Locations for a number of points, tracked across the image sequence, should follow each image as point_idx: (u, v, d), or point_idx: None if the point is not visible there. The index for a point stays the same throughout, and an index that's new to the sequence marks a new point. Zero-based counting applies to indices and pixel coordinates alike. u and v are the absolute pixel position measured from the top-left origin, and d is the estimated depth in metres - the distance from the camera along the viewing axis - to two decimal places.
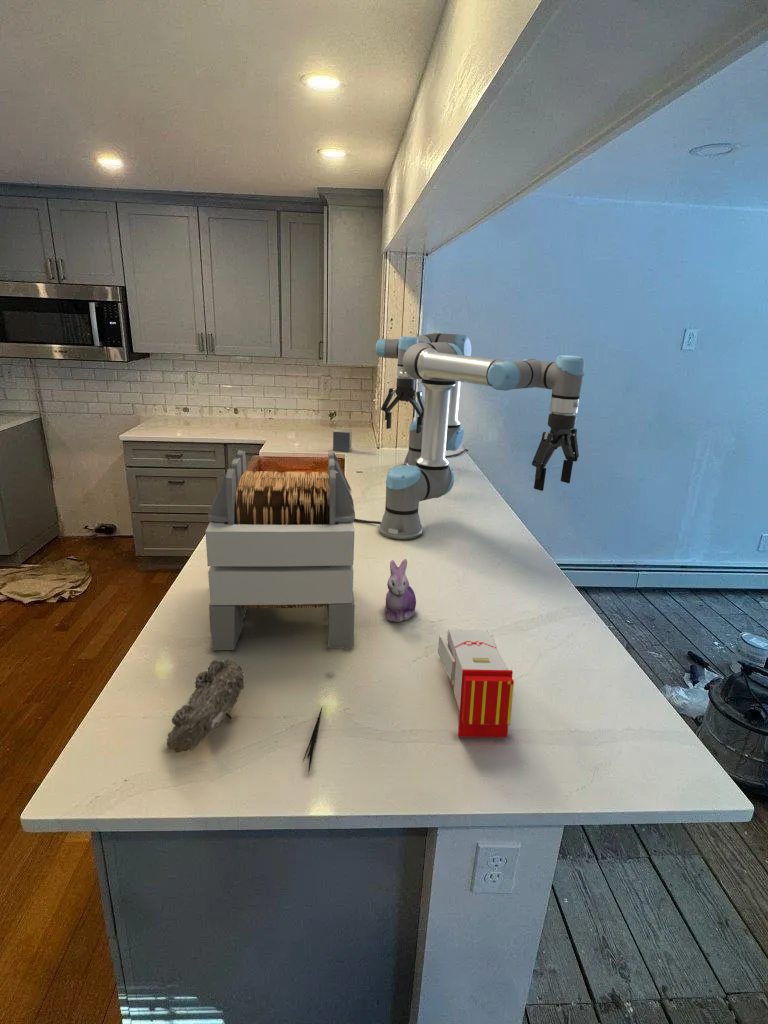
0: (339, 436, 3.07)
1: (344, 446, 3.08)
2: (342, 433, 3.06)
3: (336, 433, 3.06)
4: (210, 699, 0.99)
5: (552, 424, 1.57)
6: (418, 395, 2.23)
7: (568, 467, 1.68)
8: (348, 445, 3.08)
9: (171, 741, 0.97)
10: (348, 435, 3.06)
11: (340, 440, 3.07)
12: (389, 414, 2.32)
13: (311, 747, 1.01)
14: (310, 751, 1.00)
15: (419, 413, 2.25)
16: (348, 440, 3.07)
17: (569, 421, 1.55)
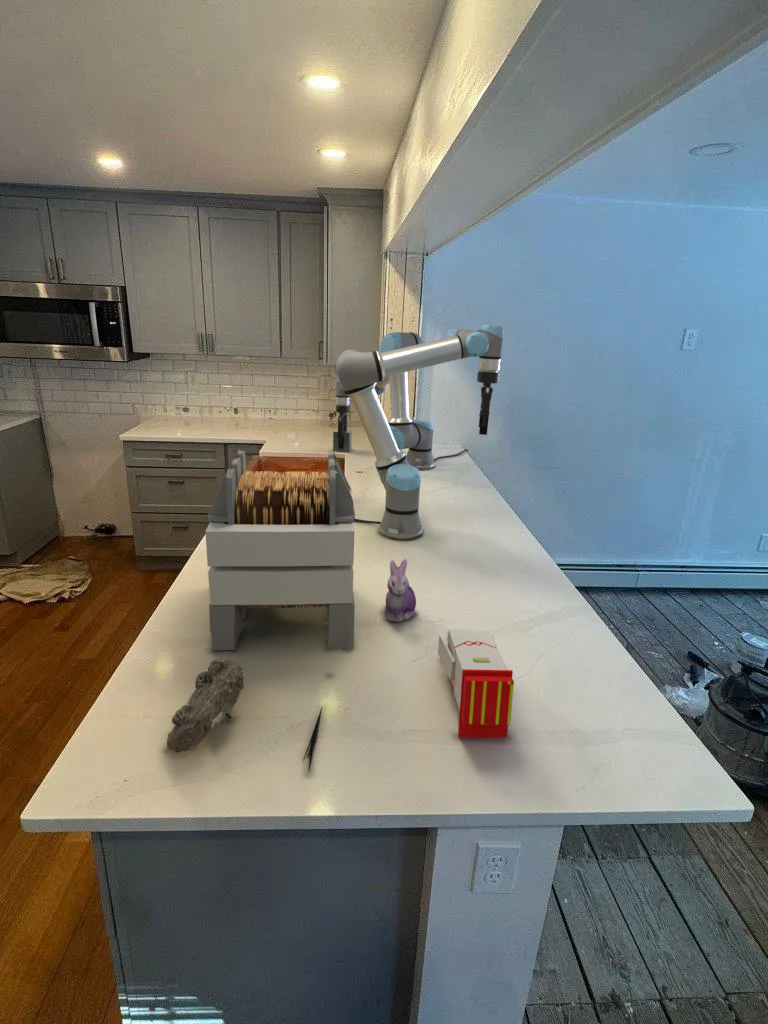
0: None
1: (344, 446, 3.08)
2: None
3: (336, 433, 3.06)
4: (210, 699, 0.99)
5: (486, 380, 1.97)
6: None
7: None
8: (348, 445, 3.08)
9: (171, 741, 0.97)
10: (348, 435, 3.06)
11: None
12: None
13: (311, 747, 1.01)
14: (310, 751, 1.00)
15: None
16: (348, 440, 3.07)
17: (498, 376, 1.98)
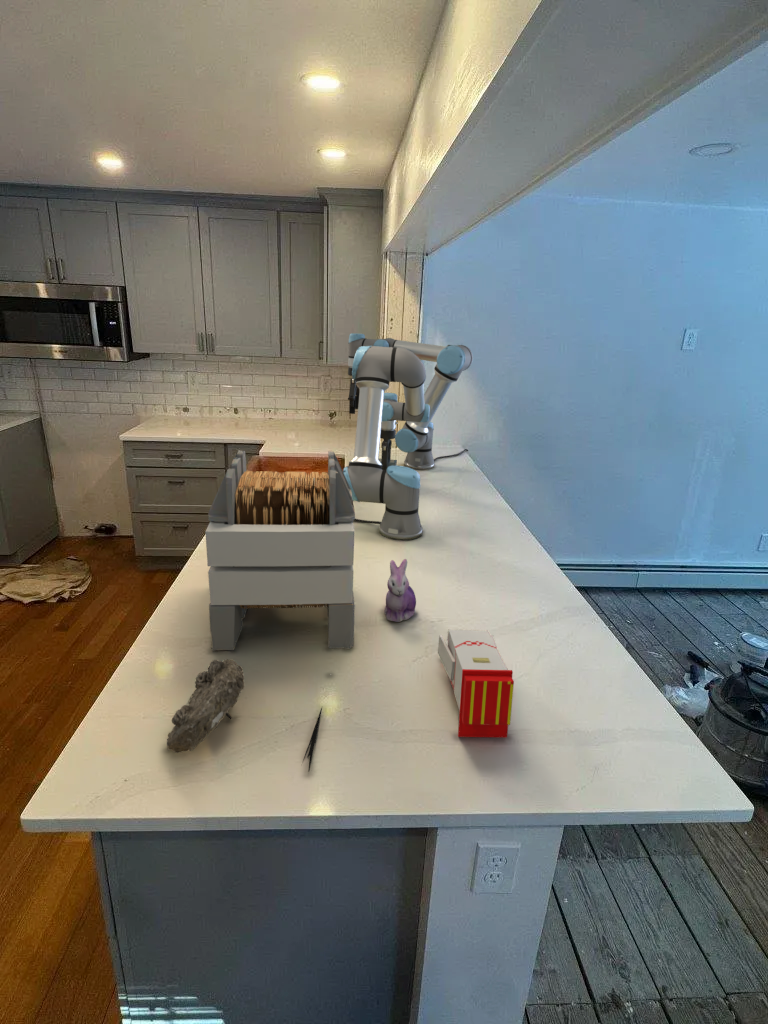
0: None
1: None
2: None
3: None
4: (210, 699, 0.99)
5: (384, 437, 2.46)
6: None
7: None
8: None
9: (171, 741, 0.97)
10: None
11: None
12: None
13: (311, 747, 1.01)
14: (310, 751, 1.00)
15: None
16: None
17: (394, 433, 2.46)
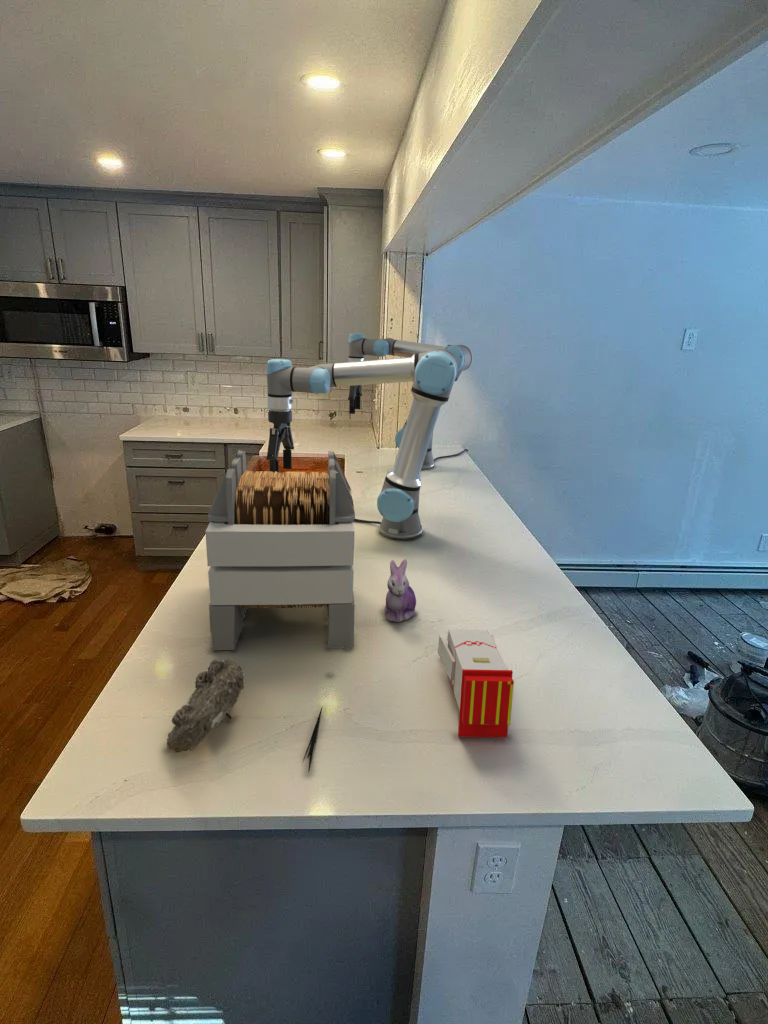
0: None
1: None
2: None
3: None
4: (210, 699, 0.99)
5: (274, 420, 1.78)
6: None
7: (288, 455, 1.92)
8: None
9: (171, 741, 0.97)
10: None
11: None
12: None
13: (311, 747, 1.01)
14: (310, 751, 1.00)
15: (360, 393, 2.83)
16: None
17: (288, 415, 1.78)
